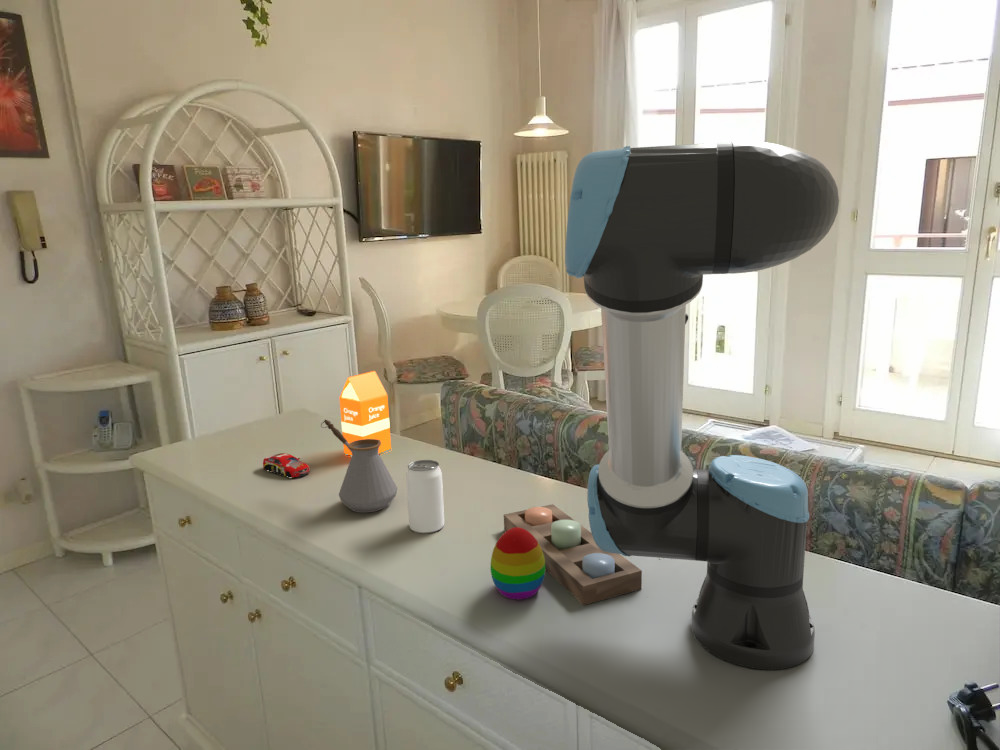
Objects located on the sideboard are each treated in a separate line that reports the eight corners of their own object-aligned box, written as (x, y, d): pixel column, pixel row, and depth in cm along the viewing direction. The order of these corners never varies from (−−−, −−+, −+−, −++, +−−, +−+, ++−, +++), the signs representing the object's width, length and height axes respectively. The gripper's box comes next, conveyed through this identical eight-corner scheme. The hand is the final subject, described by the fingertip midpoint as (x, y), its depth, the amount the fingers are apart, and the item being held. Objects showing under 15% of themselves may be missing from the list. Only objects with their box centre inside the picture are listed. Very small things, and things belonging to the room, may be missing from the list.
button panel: (641, 588, 102) (641, 570, 101) (583, 605, 98) (583, 586, 98) (553, 519, 127) (552, 504, 127) (504, 530, 123) (503, 514, 123)
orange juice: (391, 450, 170) (386, 372, 166) (364, 460, 163) (358, 379, 159) (370, 445, 175) (364, 368, 170) (343, 454, 168) (336, 375, 164)
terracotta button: (557, 534, 120) (556, 514, 120) (532, 539, 118) (532, 520, 118) (544, 524, 125) (544, 505, 124) (520, 529, 123) (520, 510, 122)
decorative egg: (505, 572, 108) (503, 513, 106) (553, 582, 105) (552, 522, 103) (482, 598, 101) (479, 535, 99) (533, 609, 98) (531, 545, 95)
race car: (314, 475, 156) (312, 458, 155) (294, 482, 152) (292, 465, 151) (280, 463, 164) (278, 447, 163) (260, 470, 160) (258, 454, 159)
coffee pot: (409, 504, 136) (404, 432, 133) (359, 522, 129) (353, 446, 126) (353, 478, 152) (348, 413, 149) (305, 493, 144) (299, 424, 141)
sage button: (586, 549, 111) (586, 528, 110) (560, 556, 109) (560, 534, 108) (571, 537, 115) (571, 517, 115) (546, 543, 114) (546, 523, 113)
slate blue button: (620, 586, 102) (620, 563, 102) (593, 594, 101) (593, 571, 100) (603, 572, 107) (603, 550, 106) (576, 579, 105) (576, 557, 104)
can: (438, 535, 122) (435, 471, 120) (404, 533, 123) (400, 470, 121) (448, 520, 128) (445, 459, 126) (415, 518, 130) (412, 458, 127)
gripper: (703, 268, 108) (699, 413, 113) (653, 265, 119) (651, 396, 124) (664, 271, 105) (661, 419, 110) (617, 268, 116) (616, 402, 121)
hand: (656, 407), depth 117 cm, fingers closed
